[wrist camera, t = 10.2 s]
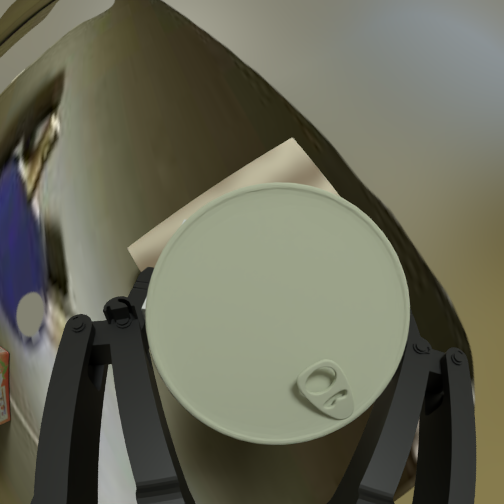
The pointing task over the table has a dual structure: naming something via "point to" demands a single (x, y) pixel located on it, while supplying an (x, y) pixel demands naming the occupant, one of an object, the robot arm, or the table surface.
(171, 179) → the table surface
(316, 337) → the can
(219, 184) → the stand
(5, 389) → the cracker box
